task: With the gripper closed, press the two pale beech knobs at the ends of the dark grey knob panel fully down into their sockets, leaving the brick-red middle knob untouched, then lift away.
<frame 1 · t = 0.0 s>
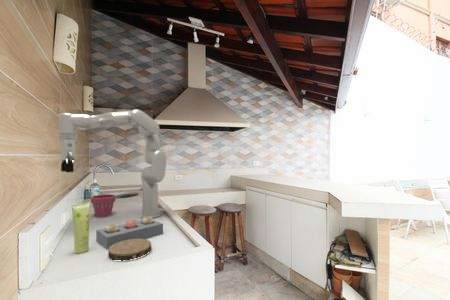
hand: (67, 171, 117), 31 cm above the counter, tool pointing down, fingers open, 9 cm apart
tube: (81, 251, 95), on the counter
knob panel: (131, 237, 111), on the counter
knob a: (147, 222, 117), point 5 cm above the counter, slide at 0.0 cm
knob b: (112, 230, 105), point 5 cm above the counter, slide at 0.0 cm
wood log slice: (130, 253, 93), on the counter
knob red: (130, 226, 111), point 5 cm above the counter, slide at 0.0 cm
plant pot: (103, 215, 152), on the counter
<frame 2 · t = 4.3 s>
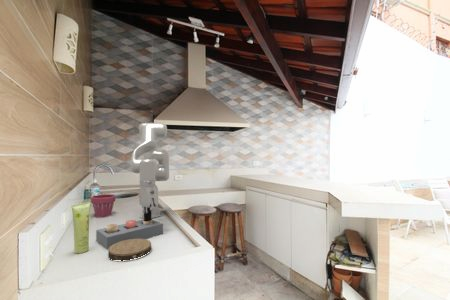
hand: (147, 220, 116), 6 cm above the counter, tool pointing down, fingers closed
knob a: (147, 224, 117), point 4 cm above the counter, slide at 1.4 cm, touching gripper
everything else where it was.
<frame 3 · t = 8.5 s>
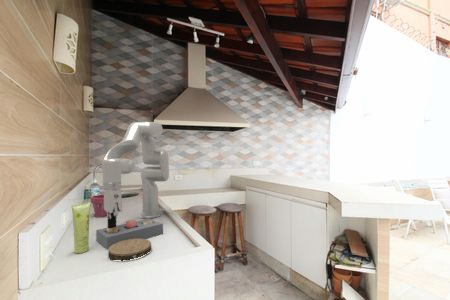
hand: (111, 227, 104), 7 cm above the counter, tool pointing down, fingers closed
knob a: (147, 226, 117), point 3 cm above the counter, slide at 2.1 cm
knob b: (112, 232, 105), point 4 cm above the counter, slide at 0.8 cm, touching gripper
everything else where it was.
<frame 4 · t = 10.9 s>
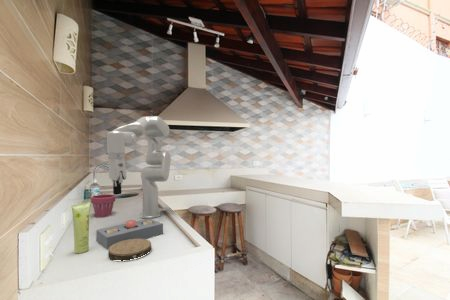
hand: (117, 194, 114), 20 cm above the counter, tool pointing down, fingers closed
knob b: (112, 235, 105), point 3 cm above the counter, slide at 2.1 cm
everything else where it was.
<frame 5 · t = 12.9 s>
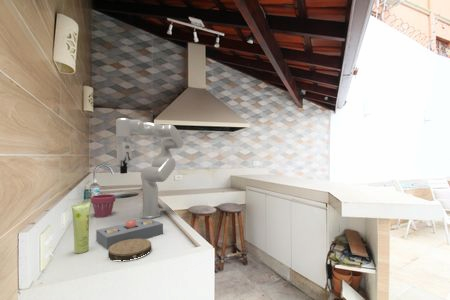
hand: (123, 173, 130), 29 cm above the counter, tool pointing down, fingers closed
nothing on the counter moved.
at the end: knob a slide at 2.1 cm; knob b slide at 2.1 cm; knob red slide at 0.0 cm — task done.
